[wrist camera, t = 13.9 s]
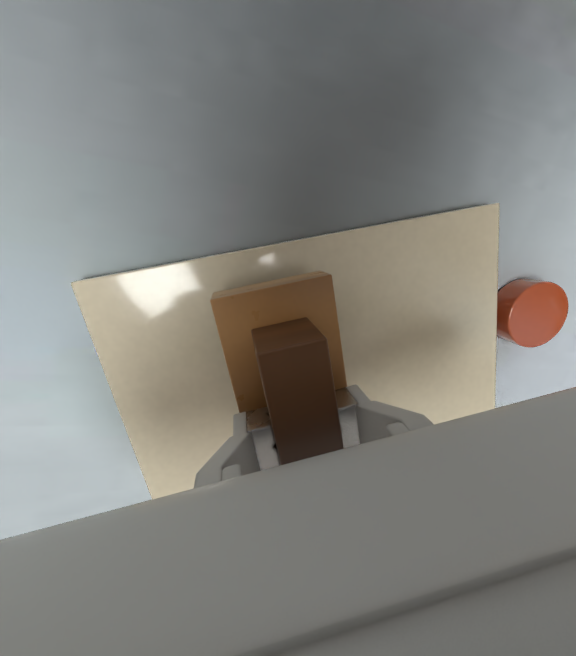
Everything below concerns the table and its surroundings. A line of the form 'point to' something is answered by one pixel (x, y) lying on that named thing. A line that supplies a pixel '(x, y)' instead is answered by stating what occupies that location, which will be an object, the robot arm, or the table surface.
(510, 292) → the chip
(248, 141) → the table surface
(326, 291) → the brush
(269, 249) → the tile
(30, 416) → the table surface
